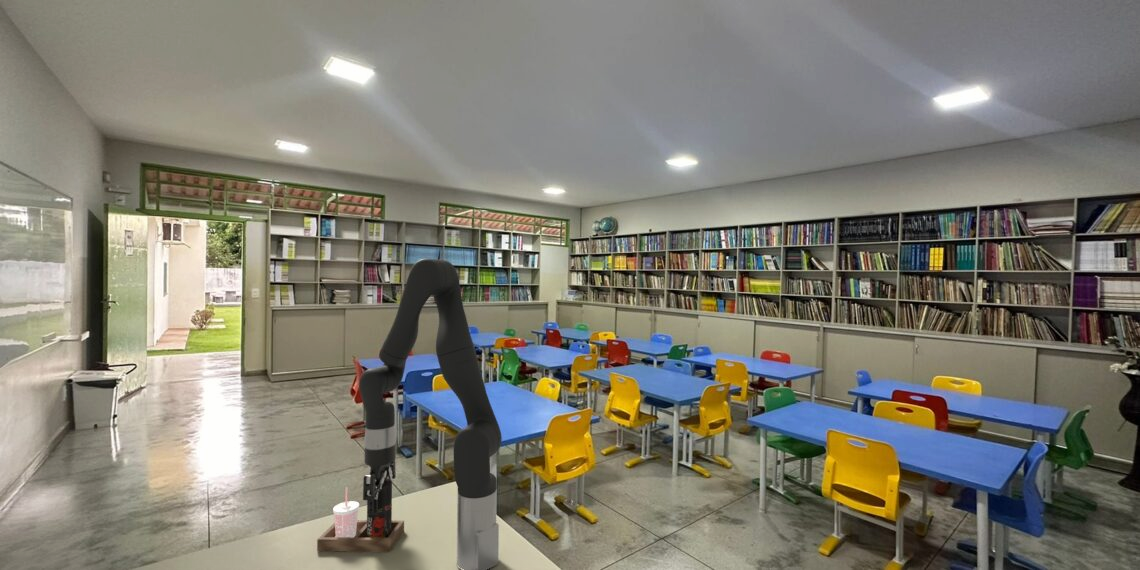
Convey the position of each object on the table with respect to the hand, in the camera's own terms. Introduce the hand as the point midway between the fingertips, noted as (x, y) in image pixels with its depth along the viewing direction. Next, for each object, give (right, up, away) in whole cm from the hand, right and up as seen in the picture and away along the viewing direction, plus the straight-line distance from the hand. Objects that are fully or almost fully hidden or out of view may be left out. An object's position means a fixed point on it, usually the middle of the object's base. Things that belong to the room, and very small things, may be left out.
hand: (380, 505), depth 117 cm
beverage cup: (-9, -9, 0) cm, 13 cm away
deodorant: (0, -9, 0) cm, 9 cm away
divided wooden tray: (-5, -9, 0) cm, 10 cm away
